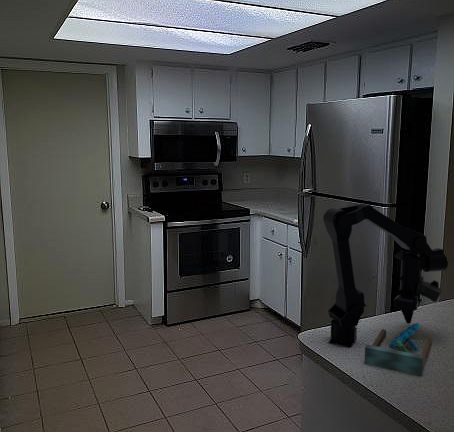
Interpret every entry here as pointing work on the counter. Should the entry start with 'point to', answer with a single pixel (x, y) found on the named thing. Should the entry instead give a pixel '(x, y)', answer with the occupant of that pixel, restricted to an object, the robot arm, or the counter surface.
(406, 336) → the blue irregular piece
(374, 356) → the guide channel
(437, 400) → the counter surface
